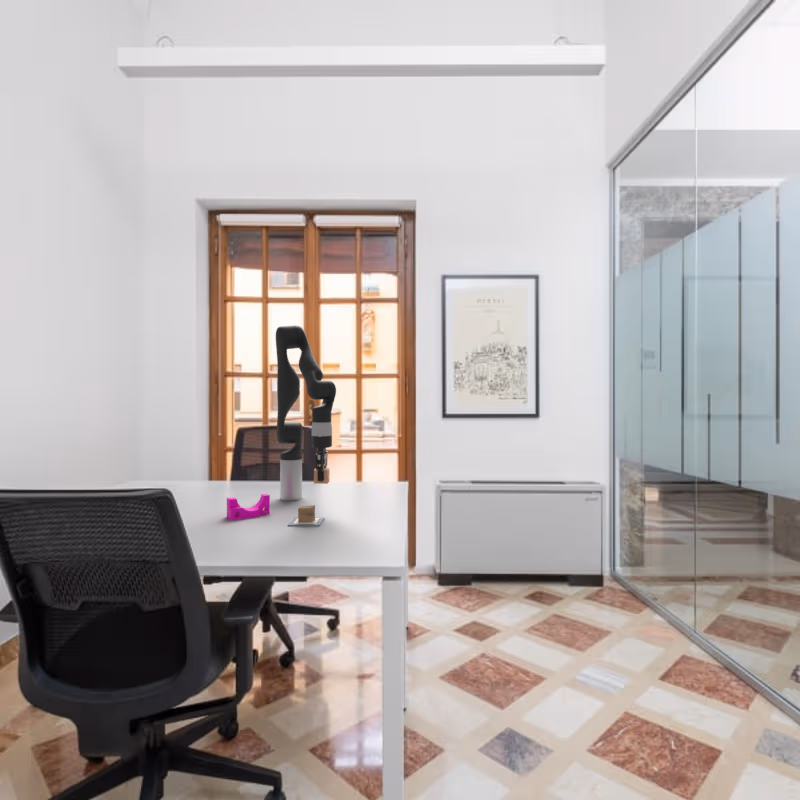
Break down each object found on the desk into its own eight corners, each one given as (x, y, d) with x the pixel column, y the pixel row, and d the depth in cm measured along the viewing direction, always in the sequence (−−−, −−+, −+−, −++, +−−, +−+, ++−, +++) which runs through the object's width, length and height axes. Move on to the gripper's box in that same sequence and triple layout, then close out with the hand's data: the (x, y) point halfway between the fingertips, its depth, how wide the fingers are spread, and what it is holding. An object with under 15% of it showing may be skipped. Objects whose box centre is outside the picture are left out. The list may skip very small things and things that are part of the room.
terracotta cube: (316, 481, 201) (316, 467, 200) (329, 481, 200) (329, 467, 200) (313, 483, 196) (313, 470, 195) (327, 483, 196) (327, 470, 195)
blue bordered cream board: (294, 519, 194) (294, 516, 194) (324, 519, 193) (324, 517, 193) (287, 527, 183) (287, 524, 183) (319, 527, 182) (319, 524, 182)
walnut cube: (301, 518, 191) (301, 505, 190) (314, 519, 190) (314, 505, 190) (298, 522, 186) (298, 508, 185) (312, 522, 185) (312, 508, 185)
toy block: (231, 521, 191) (231, 500, 191) (226, 518, 197) (226, 497, 196) (271, 516, 199) (271, 496, 199) (266, 513, 204) (266, 493, 204)
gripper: (314, 432, 205) (314, 476, 205) (308, 436, 190) (308, 483, 191) (334, 432, 205) (334, 476, 205) (329, 436, 190) (329, 483, 191)
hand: (321, 479), depth 198 cm, fingers closed on terracotta cube, 5 cm apart
